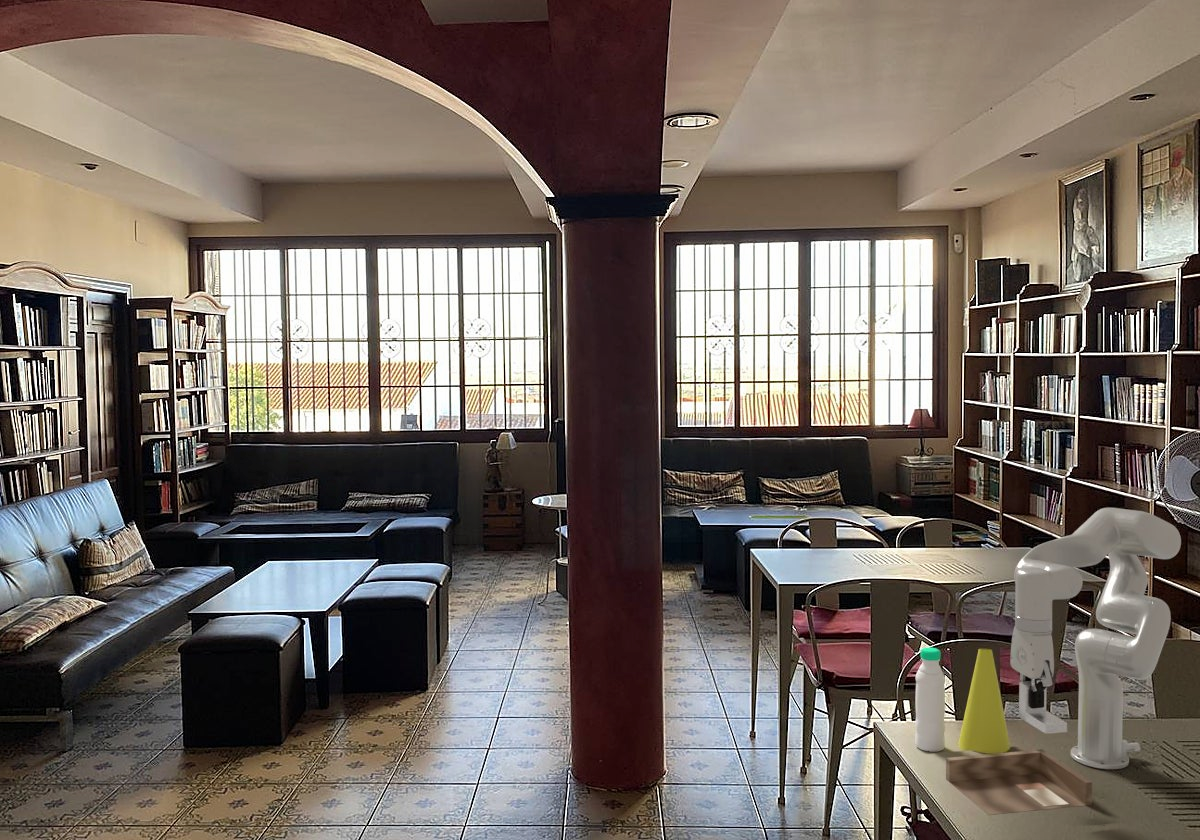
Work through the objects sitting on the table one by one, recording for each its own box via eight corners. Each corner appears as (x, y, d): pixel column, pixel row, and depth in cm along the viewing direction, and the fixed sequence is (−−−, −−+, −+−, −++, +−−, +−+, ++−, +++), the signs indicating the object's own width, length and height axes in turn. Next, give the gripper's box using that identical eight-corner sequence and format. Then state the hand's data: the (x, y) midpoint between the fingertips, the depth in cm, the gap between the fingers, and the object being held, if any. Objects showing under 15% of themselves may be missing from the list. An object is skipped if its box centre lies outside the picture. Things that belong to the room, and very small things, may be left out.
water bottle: (946, 753, 246) (947, 654, 244) (916, 751, 247) (917, 652, 245) (942, 742, 252) (943, 645, 251) (913, 740, 254) (914, 644, 252)
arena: (1041, 774, 233) (1042, 749, 232) (1091, 809, 215) (1092, 782, 215) (945, 783, 229) (946, 757, 229) (988, 819, 211) (988, 791, 211)
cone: (958, 735, 257) (959, 640, 255) (1010, 741, 252) (1011, 644, 251) (957, 754, 245) (958, 654, 244) (1011, 760, 241) (1012, 659, 239)
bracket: (1019, 716, 224) (1019, 682, 223) (1039, 715, 225) (1039, 680, 224) (1045, 733, 214) (1046, 697, 213) (1066, 731, 215) (1067, 695, 214)
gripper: (997, 615, 229) (997, 694, 230) (1039, 635, 213) (1038, 719, 214) (1027, 613, 230) (1027, 691, 231) (1071, 633, 214) (1070, 716, 215)
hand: (1032, 704), depth 223 cm, fingers closed on bracket, 2 cm apart
